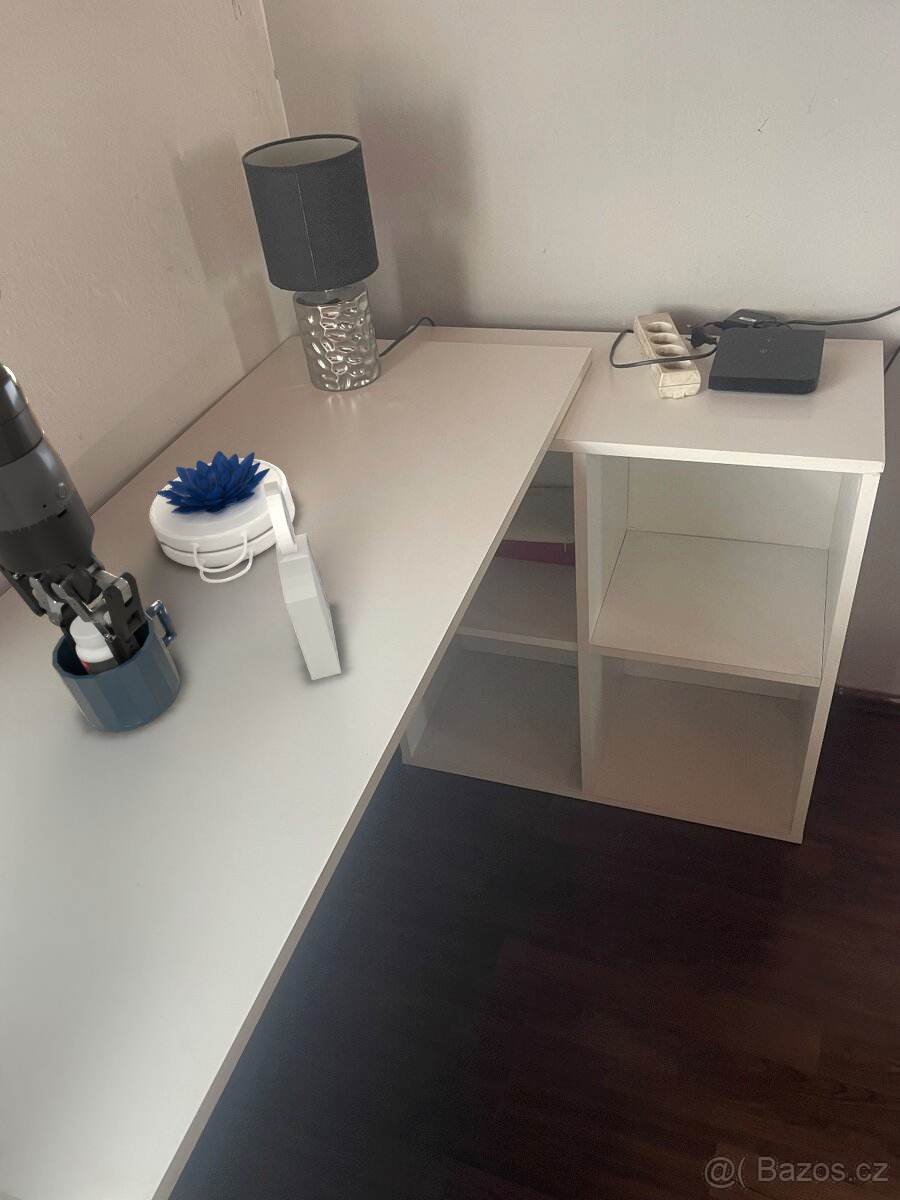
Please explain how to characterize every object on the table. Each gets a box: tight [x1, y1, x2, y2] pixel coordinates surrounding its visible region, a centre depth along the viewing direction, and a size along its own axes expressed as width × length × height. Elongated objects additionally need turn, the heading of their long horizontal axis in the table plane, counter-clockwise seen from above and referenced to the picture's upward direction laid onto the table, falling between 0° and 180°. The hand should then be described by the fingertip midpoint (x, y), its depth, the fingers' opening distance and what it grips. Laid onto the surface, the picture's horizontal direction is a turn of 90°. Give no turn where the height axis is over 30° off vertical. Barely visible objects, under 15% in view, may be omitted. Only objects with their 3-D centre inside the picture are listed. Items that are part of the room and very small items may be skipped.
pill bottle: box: [70, 611, 119, 675], centre depth 77 cm, size 5×5×8 cm
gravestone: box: [264, 481, 342, 681], centre depth 77 cm, size 3×9×18 cm, turn 12°
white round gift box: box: [148, 450, 296, 584], centre depth 96 cm, size 7×16×20 cm
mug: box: [51, 599, 181, 733], centre depth 79 cm, size 12×9×7 cm
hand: (109, 655), depth 77 cm, fingers closed on pill bottle, 4 cm apart
